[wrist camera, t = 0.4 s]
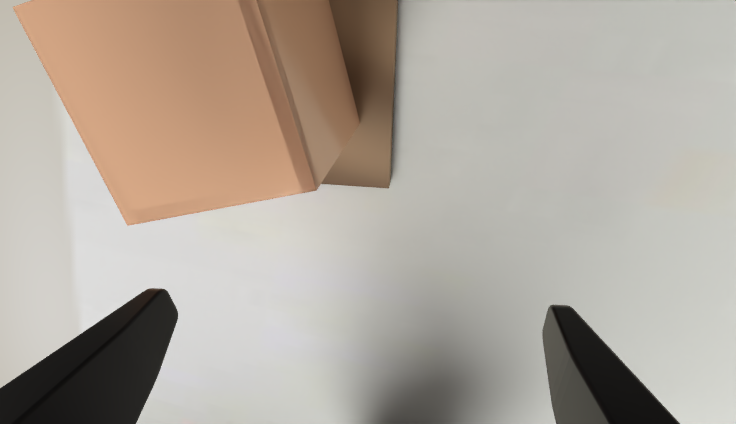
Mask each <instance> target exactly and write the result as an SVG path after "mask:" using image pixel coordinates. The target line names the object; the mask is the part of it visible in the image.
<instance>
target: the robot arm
mask: <svg viewBox="0 0 736 424" xmlns="http://www.w3.org/2000/svg"><path fill="white" fill-rule="evenodd" d="M177 319H178V311H177V309H176V307H175V305H174V303H173V301H172V299H171V297H170V295H169V293H168V292H167V291H166V290H165V289H155V288H151V289H147V290H145V291H144V292H142V293H141V294H139V295H138V296H136V297H135V298H133V299H132V300H130V301H129V302H127V303H126V304H124V305H123V306H121V307H120V308H119V309H117V310H116V311H114V312H113V313H111V314H110V315H108V316H107V317H105V318H104V319H102V320H101V321H99V322H98V323H96V324H95V325H93V326H92V327H90V328H89V329H87V330H86V331H84V332H83V333H82V334H80V335H79V336H77V337H76V338H74V339H73V340H71V341H70V342H68V343H67V344H65V345H64V346H62V347H61V348H59V349H58V350H56V351H55V352H53V353H52V354H50V355H49V356H47V357H46V358H45V359H43V360H42V361H40V362H39V363H37V364H36V365H34V366H33V367H31V368H30V369H29V370H27V371H25V372H24V373H22V374H21V375H19V376H18V377H16V378H15V379H13V380H12V381H11V382H9V383H7V384H6V385H5V386H3V387H2V388H0V424H136V422H137V420H138V418H139V416H140V414H141V411H142V409H143V407H144V405H145V403H146V401H147V399H148V396H149V394H150V392H151V390H152V388H153V386H154V383H155V381H156V379H157V376H158V374H159V371H160V368H161V366H162V363H163V360H164V357H165V354H166V351H167V348H168V345H169V343H170V340H171V337H172V334H173V331H174V328H175V325H176V323H177ZM542 335H543V345H544V352H545V359H546V366H547V373H548V380H549V388H550V395H551V401H552V407H553V412H554V416H555V420H556V424H680V423H679V422H678V421H677V420H676V419H675V418H674V417H673V416H672V415H671V414H670V412H669V411H668V410H667V409H666V408H665V407H664V406H663V405H662V404H661V403H660V402H659V401H658V400H657V398H656V397H655V396H654V395H653V394H652V393H651V392H650V391H649V390H648V389H647V388H646V387H645V386H644V384H643V383H642V382H641V381H640V380H639V379H638V378H637V377H636V376H635V375H634V374H633V373H632V372H631V370H630V369H629V368H628V367H627V366H626V365H625V364H624V363H623V362H622V361H621V360H620V359H619V358H618V356H617V355H616V354H615V353H614V352H613V351H612V350H611V349H610V348H609V347H608V346H607V345H606V344H605V342H604V341H603V340H602V339H601V338H600V337H599V336H598V335H597V334H596V333H595V332H594V331H593V330H592V328H591V327H590V326H589V325H588V324H587V323H586V322H585V321H584V320H583V319H582V318H581V317H580V316H579V314H578V313H577V312H576V311H575V310H574V309H573V308H572V307H570V306H567V305H551V306H550V307H549V308H548V311H547V315H546V319H545V323H544V326H543V334H542Z"/></svg>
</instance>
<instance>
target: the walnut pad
mask: <svg viewBox="0 0 736 424" xmlns="http://www.w3.org/2000/svg"><path fill="white" fill-rule="evenodd" d="M329 3H330V7H331V11H332V15H333V19H334V23H335V27H336V31H337V35H338V38H339V42H340V46H341V50H342V54H343V58H344V62H345V66H346V70H347V74H348V78H349V82H350V85H351V89H352V93H353V97H354V101H355V105H356V109H357V113H358V117H359V121H360V124H359V126H358V127H357V129H356V130H355V132H354V134H353V135H352V137H351V138H350V140H349V141H348V143H347V144H346V146H345V147H344V149H343V150H342V152H341V154H340V155H339V157H338V158H337V160H336V161H335V163H334V164H333V166H332V167H331V169H330V170H329V172H328V173H327V175H326V177H325V178H324V180H323V181H322V183H321V184H333V185H348V186H363V187H377V188H389V185H390V179H391V156H392V132H393V108H394V84H395V60H396V36H397V13H398V0H329Z"/></svg>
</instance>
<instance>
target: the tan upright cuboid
mask: <svg viewBox="0 0 736 424" xmlns="http://www.w3.org/2000/svg"><path fill="white" fill-rule="evenodd" d="M13 9H14V11H15V13H16V15H17V17H18V19H19V21H20V23H21V24H22V26H23V28H24V30H25V32H26V34H27V36H28V38H29V40H30V41H31V43H32V45H33V47H34V49H35V51H36V53H37V55H38V57H39V59H40V60H41V62H42V64H43V66H44V68H45V70H46V72H47V73H48V76H49V77H50V79H51V81H52V83H53V85H54V87H55V89H56V91H57V93H58V95H59V96H60V98H61V100H62V102H63V104H64V106H65V108H66V110H67V112H68V114H69V115H70V117H71V119H72V121H73V123H74V125H75V127H76V129H77V131H78V133H79V134H80V136H81V138H82V140H83V142H84V144H85V146H86V148H87V150H88V152H89V153H90V155H91V157H92V159H93V161H94V163H95V165H96V167H97V169H98V170H99V172H100V174H101V176H102V178H103V180H104V182H105V184H106V186H107V188H108V189H109V191H110V193H111V195H112V197H113V199H114V201H115V203H116V205H117V207H118V208H119V210H120V212H121V214H122V216H123V218H124V220H125V222H126V224H127V226H128V225H134V224H139V223H144V222H150V221H155V220H160V219H166V218H171V217H177V216H182V215H187V214H193V213H198V212H203V211H209V210H214V209H220V208H225V207H230V206H236V205H241V204H246V203H252V202H257V201H262V200H268V199H273V198H279V197H284V196H289V195H295V194H300V193H305V192H311V191H316V190H317V189H318V187H319V186H320V184H321V183H322V181H323V180H324V178H325V177H326V175H327V173H328V172H329V170H330V169H331V167H332V166H333V164H334V163H335V161H336V160H337V158H338V157H339V155H340V154H341V152H342V150H343V149H344V147H345V146H346V144H347V143H348V141H349V140H350V138H351V137H352V135H353V134H354V132H355V130H356V129H357V127H358V126H359V124H360V121H359V117H358V113H357V109H356V105H355V101H354V97H353V93H352V89H351V85H350V82H349V78H348V74H347V70H346V66H345V62H344V58H343V54H342V50H341V46H340V42H339V38H338V35H337V31H336V27H335V23H334V19H333V15H332V11H331V7H330V3H329V0H31V1H29V2H26V3H23V4H20V5H17V6H14V7H13Z"/></svg>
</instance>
